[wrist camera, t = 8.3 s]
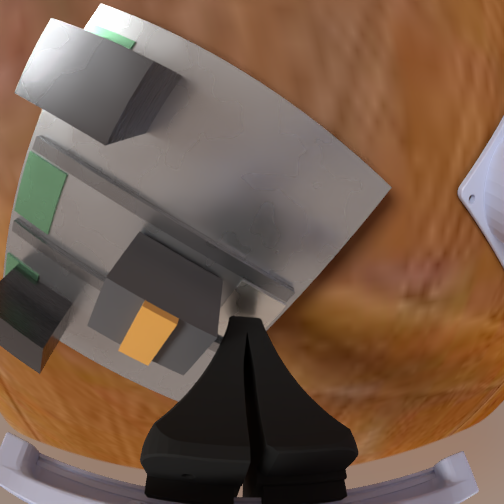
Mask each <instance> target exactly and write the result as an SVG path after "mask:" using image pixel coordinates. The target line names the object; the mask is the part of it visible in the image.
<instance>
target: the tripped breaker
mask: <svg viewBox="0 0 504 504" xmlns="http://www.w3.org/2000/svg"><path fill="white" fill-rule="evenodd" d="M222 285H223V280H222V279H220V278H219V277H217V276H215V275H213V274H212V273H210V272H208V271H206V270H205V269H203V268H201V267H199V266H198V265H196V264H194V263H192V262H191V261H189V260H187V259H185V258H184V257H182V256H180V255H179V254H177V253H175V252H173V251H172V250H170V249H168V248H167V247H165V246H163V245H162V244H160V243H158V242H157V241H155V240H153V239H152V238H150V237H148V236H147V235H145V234H143V233H142V232H140V231H139V233H138V234H137V235H136V237H135V238H134V239H133V241H132V242H131V243H130V245H129V246H128V247H127V249H126V250H125V251H124V253H123V254H122V256H121V257H120V258H119V260H118V261H117V262H116V264H115V265H114V267H113V268H112V270H111V271H110V272H109V274H108V275H107V277H106V279H105V281H104V283H103V286H102V288H101V291H100V293H99V296H98V298H97V301H96V303H95V306H94V309H93V311H92V314H91V317H90V319H89V322H88V325H87V326H88V327H90V328H92V329H93V330H95V331H97V332H99V333H100V334H102V335H104V336H106V337H107V338H109V339H111V340H113V341H114V342H116V343H118V344H120V348H119V350H118V351H120V352H122V353H124V354H126V355H127V356H129V357H131V358H133V359H135V360H137V361H139V362H141V363H143V364H145V365H147V366H148V365H149V364H150V362H151V361H153V362H155V363H157V364H159V365H161V366H164V367H166V368H168V369H170V370H172V371H174V372H177V373H179V374H181V375H183V376H184V375H185V374H186V372H187V371H188V370H189V369H190V368H191V367H192V366H193V365H194V363H195V362H196V361H197V360H198V359H199V358H200V357H201V356H202V354H203V353H204V352H205V351H206V350H207V349H208V348H209V347H210V345H211V344H212V343H213V342H214V341H215V340H216V339H217V335H218V325H219V314H220V305H221V295H222Z"/></svg>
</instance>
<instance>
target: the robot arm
mask: <svg viewBox="0 0 504 504" xmlns="http://www.w3.org/2000/svg"><path fill="white" fill-rule="evenodd" d="M470 196H471V198H470V200H469V197H470ZM458 197H459V199H460V200H461V201H462V203H463V204H464V206H465V207H466V208H467V210H468V211H469V213H470V214H471V216H472V217H473V219H474V220H475V222H476V223H477V225H478V226H479V228H480V229H481V231H482V232H483V234H484V236H485V237H486V239H487V241H488V242H489V244H490V246H491V247H492V249H493V251H494V252H495V254H496V256H497V258H498V259H499V261H500V263H501V265H502V267H503V268H504V116H503V118H502V120H501V122H500V123H499V125H498V127H497V129H496V130H495V132H494V134H493V135H492V137H491V139H490V140H489V142H488V144H487V145H486V147H485V148H484V150H483V152H482V153H481V155H480V156H479V158H478V159H477V161H476V163H475V164H474V166H473V167H472V169H471V170H470V172H469V173H468V174H467V176H466V177H465V179H464V180H463V182H462V183H461V185H460V186H459V188H458ZM357 456H358V449H357V445H356V442H355V440H354V437H353V435H352V433H351V430H350V429H349V428H347V427H346V426H344V425H343V424H341V423H340V422H339V421H337V420H336V419H334V418H333V417H332V416H330V415H329V414H328V413H327V412H326V411H324V410H323V409H322V408H321V407H320V406H319V405H318V404H317V403H316V402H315V401H314V400H313V399H312V398H311V397H310V396H309V395H308V394H307V393H306V392H305V391H304V390H303V389H302V387H301V386H300V385H299V384H298V383H297V381H296V380H295V379H294V378H293V376H292V375H291V374H290V372H289V371H288V369H287V368H286V366H285V365H284V363H283V362H282V360H281V358H280V357H279V355H278V353H277V352H276V350H275V348H274V346H273V344H272V342H271V341H270V338H269V336H268V334H267V332H266V330H265V327H264V325H263V322H262V320H261V319H260V318H255V317H242V316H231V317H229V321H228V326H227V329H226V332H225V334H224V337H223V339H222V341H221V343H220V345H219V347H218V349H217V351H216V353H215V355H214V356H213V358H212V360H211V362H210V363H209V365H208V366H207V368H206V369H205V371H204V372H203V374H202V375H201V377H200V378H199V379H198V381H197V382H196V383H195V384H194V385H193V387H192V388H191V389H190V390H189V391H188V393H187V394H186V395H185V396H184V397H183V398H182V399H181V400H180V401H179V402H178V403H177V404H176V405H175V406H174V407H173V408H172V409H171V410H170V411H168V412H167V413H166V414H165V415H164V416H162V417H161V418H160V419H159V420H158V421H156V422H155V423H154V425H153V426H152V428H151V430H150V431H149V433H148V435H147V437H146V439H145V442H144V445H143V448H142V453H141V458H140V461H141V464H142V466H143V468H144V470H145V471H146V473H147V480H146V486H140V485H136V484H131V483H127V482H123V481H119V480H115V479H112V478H108V477H104V476H101V475H98V474H94V473H91V472H88V471H85V470H82V469H79V468H76V467H74V466H71V465H68V464H66V463H63V462H60V461H58V460H55V459H53V458H50V457H48V456H45V455H43V454H41V453H39V451H38V450H37V449H36V448H35V447H34V446H33V445H32V444H30V443H29V442H27V441H25V440H23V439H21V438H19V437H17V436H15V435H13V434H11V433H9V432H8V433H6V435H5V437H4V440H3V442H2V445H1V447H0V486H1V487H3V488H4V489H5V490H7V491H8V492H10V493H12V494H13V495H15V496H16V497H18V498H20V499H21V500H23V501H25V502H27V503H29V504H459V503H461V502H463V501H464V500H466V499H468V498H469V497H471V496H473V495H474V494H476V493H477V492H478V490H479V489H478V487H477V484H476V481H475V479H474V476H473V473H472V471H471V468H470V466H469V464H468V461H467V459H466V456H465V454H464V452H463V451H461V452H458V453H456V454H453V455H451V456H448V457H446V458H444V459H442V460H441V461H439V462H438V463H437V464H435V465H434V467H432V468H429V469H426V470H423V471H420V472H417V473H414V474H411V475H407V476H404V477H401V478H396V479H393V480H389V481H385V482H381V483H377V484H372V485H368V486H363V487H358V488H353V489H347V490H346V486H345V482H344V479H346V478H347V475H346V470H345V469H346V468H347V467H348V466H349V465H350V464H351V463H352V462H353V461H354V460H355V459H356V457H357ZM242 484H243V497H237V495H238V492H239V489H240V486H242Z"/></svg>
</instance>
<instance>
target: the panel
mask: <svg viewBox="0 0 504 504" xmlns="http://www.w3.org/2000/svg"><path fill="white" fill-rule="evenodd" d="M15 93H16V94H18V95H19V96H21V97H23V98H25V99H26V100H28V101H30V102H31V103H33V104H35V105H37V106H38V107H40V108H42V109H43V110H42V112H41V115H40V117H39V120H38V123H37V125H36V128H35V131H34V134H33V136H32V139H31V142H30V145H29V148H28V151H27V155H26V158H25V161H24V165H23V168H22V172H21V175H20V179H19V183H18V187H17V191H16V196H15V200H14V205H13V210H12V215H11V220H10V226H9V232H8V239H7V246H6V254H5V263H4V275H3V279H2V280H1V281H0V346H2V347H3V348H4V349H6V350H7V351H8V352H10V353H11V354H12V355H14V356H15V357H16V358H18V359H19V360H20V361H22V362H23V363H25V364H26V365H28V366H29V367H31V368H32V369H33V370H35V371H37V372H38V373H41V371H42V369H43V368H44V366H45V364H46V362H47V360H48V359H49V357H50V355H51V354H52V352H53V350H54V348H55V347H56V345H57V343H58V342H59V340H60V341H61V342H63V343H64V344H66V345H68V346H69V347H71V348H73V349H74V350H76V351H78V352H79V353H81V354H83V355H84V356H86V357H88V358H90V359H91V360H93V361H95V362H97V363H98V364H100V365H102V366H104V367H106V368H108V369H110V370H112V371H113V372H115V373H117V374H119V375H121V376H123V377H125V378H127V379H129V380H131V381H133V382H136V383H138V384H140V385H142V386H144V387H146V388H148V389H151V390H153V391H155V392H157V393H160V394H162V395H164V396H167V397H169V398H171V399H174V400H176V401H180V400H181V399H182V398H183V397H184V396H185V395H186V394H187V393H188V391H189V390H190V389H191V388H192V387H193V385H194V384H195V383H196V382H197V381H198V379H199V378H200V377H201V375H202V374H203V372H204V371H205V369H206V368H207V366H208V365H209V363H210V362H211V360H212V358H213V356H214V355H215V353H216V351H217V349H218V347H219V345H220V343H221V341H222V339H223V337H224V334H225V332H226V329H227V326H228V321H229V317H231V316H242V317H255V318H260V319H261V320H262V322H263V325H264V327H265V330H266V331H267V330H268V329H269V328H270V327H271V326H272V325H273V323H274V322H275V321H276V320H277V319H278V318H279V317H280V316H281V315H282V314H283V313H284V312H285V311H286V310H287V309H288V308H289V307H290V305H291V304H292V303H293V302H294V301H295V300H296V299H297V298H298V297H299V296H300V295H301V294H302V292H303V291H304V290H305V289H306V288H307V287H308V286H309V285H310V284H311V283H312V281H313V280H314V279H315V278H316V277H317V276H318V275H319V274H320V273H321V271H322V270H323V269H324V268H325V267H326V266H327V265H328V263H329V262H330V261H331V260H332V259H333V258H334V257H335V255H336V254H337V253H338V252H339V251H340V250H341V248H342V247H343V246H344V245H345V244H346V243H347V241H348V240H349V239H350V238H351V237H352V236H353V234H354V233H355V232H356V231H357V230H358V228H359V227H360V226H361V225H362V224H363V222H364V221H365V220H366V219H367V217H368V216H369V215H370V214H371V213H372V211H373V210H374V209H375V208H376V206H377V205H378V204H379V203H380V201H381V200H382V199H383V198H384V196H385V195H386V194H387V193H388V191H389V190H390V189H391V187H390V186H389V185H388V184H387V183H386V182H385V181H384V180H383V179H382V178H381V177H380V176H379V175H378V174H377V173H376V172H375V171H374V170H372V169H371V168H370V167H369V166H368V165H367V164H366V163H365V162H364V161H362V160H361V159H360V158H359V157H358V156H357V155H356V154H354V153H353V152H352V151H351V150H350V149H349V148H347V147H346V146H345V145H344V144H343V143H342V142H340V141H339V140H338V139H337V138H335V137H334V136H333V135H332V134H331V133H329V132H328V131H327V130H326V129H324V128H323V127H322V126H320V125H319V124H318V123H317V122H315V121H314V120H313V119H311V118H310V117H309V116H307V115H306V114H305V113H303V112H302V111H301V110H299V109H298V108H297V107H295V106H294V105H292V104H291V103H290V102H288V101H287V100H285V99H284V98H283V97H281V96H280V95H278V94H277V93H275V92H274V91H272V90H271V89H269V88H268V87H266V86H265V85H263V84H262V83H260V82H259V81H257V80H256V79H254V78H253V77H251V76H249V75H248V74H246V73H245V72H243V71H241V70H240V69H238V68H236V67H235V66H233V65H231V64H230V63H228V62H226V61H225V60H223V59H221V58H219V57H218V56H216V55H214V54H212V53H210V52H209V51H207V50H205V49H203V48H201V47H199V46H197V45H195V44H194V43H192V42H190V41H188V40H186V39H184V38H182V37H180V36H178V35H176V34H174V33H171V32H169V31H167V30H165V29H163V28H161V27H158V26H156V25H154V24H152V23H149V22H147V21H145V20H142V19H140V18H138V17H135V16H133V15H130V14H128V13H125V12H122V11H120V10H117V9H114V8H111V7H109V6H106V5H103V4H101V5H100V6H99V7H98V9H97V10H96V12H95V13H94V15H93V16H92V18H91V19H90V21H89V22H88V24H87V25H86V27H85V28H84V29H81V28H79V27H76V26H73V25H70V24H68V23H65V22H62V21H59V20H56V19H53V18H51V19H50V21H49V23H48V25H47V26H46V28H45V30H44V32H43V33H42V35H41V37H40V39H39V41H38V43H37V44H36V46H35V48H34V50H33V52H32V54H31V56H30V58H29V60H28V63H27V65H26V67H25V69H24V71H23V74H22V76H21V78H20V81H19V83H18V85H17V88H16V90H15ZM139 231H140V232H142V233H143V234H145V235H147V236H148V237H150V238H152V239H153V240H155V241H157V242H158V243H160V244H162V245H163V246H165V247H167V248H168V249H170V250H172V251H173V252H175V253H177V254H179V255H180V256H182V257H184V258H185V259H187V260H189V261H191V262H192V263H194V264H196V265H198V266H199V267H201V268H203V269H205V270H206V271H208V272H210V273H212V274H213V275H215V276H217V277H219V278H220V279H222V280H223V285H222V295H221V305H220V314H219V325H218V335H217V339H216V340H215V341H214V342H213V343H212V344H211V345H210V347H209V348H208V349H207V350H206V351H205V352H204V353H203V354H202V356H201V357H200V358H199V359H198V360H197V361H196V362H195V363H194V365H193V366H192V367H191V368H190V369H189V370H188V371H187V372H186V374H185V375H184V376H183V375H181V374H179V373H177V372H174V371H172V370H170V369H168V368H166V367H164V366H161V365H159V364H157V363H155V362H153V361H151V362H150V364H149V365H148V366H147V365H145V364H143V363H141V362H139V361H137V360H135V359H133V358H131V357H129V356H127V355H126V354H124V353H122V352H120V351H118V350H119V348H120V344H118V343H116V342H114V341H113V340H111V339H109V338H107V337H106V336H104V335H102V334H100V333H99V332H97V331H95V330H93V329H92V328H90V327H88V326H87V325H88V322H89V319H90V317H91V314H92V311H93V309H94V306H95V303H96V301H97V298H98V296H99V293H100V291H101V288H102V286H103V283H104V281H105V279H106V277H107V275H108V274H109V272H110V271H111V270H112V268H113V267H114V265H115V264H116V262H117V261H118V260H119V258H120V257H121V256H122V254H123V253H124V251H125V250H126V249H127V247H128V246H129V245H130V243H131V242H132V241H133V239H134V238H135V237H136V235H137V234H138V233H139Z"/></svg>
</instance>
